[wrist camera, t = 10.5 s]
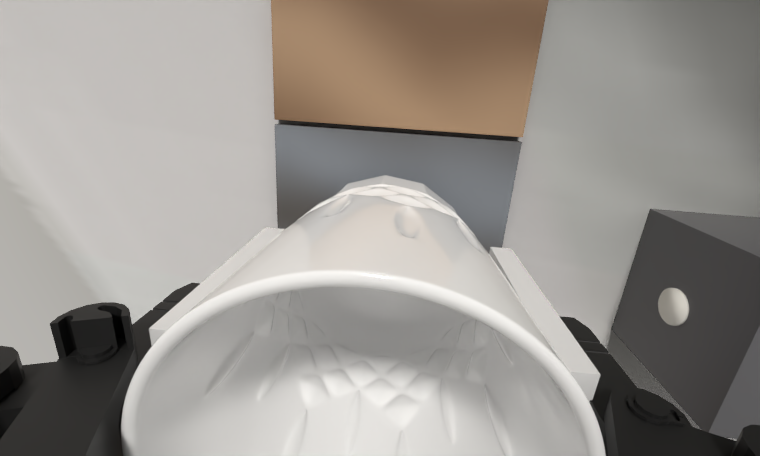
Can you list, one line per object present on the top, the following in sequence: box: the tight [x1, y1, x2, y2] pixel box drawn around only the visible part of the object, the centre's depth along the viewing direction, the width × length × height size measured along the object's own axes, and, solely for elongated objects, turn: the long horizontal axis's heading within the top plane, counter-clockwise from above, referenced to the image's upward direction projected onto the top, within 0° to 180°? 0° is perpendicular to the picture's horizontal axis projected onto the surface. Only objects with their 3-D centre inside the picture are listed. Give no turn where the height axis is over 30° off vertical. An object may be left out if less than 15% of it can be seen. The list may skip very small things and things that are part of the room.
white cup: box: [121, 175, 606, 456], centre depth 11 cm, size 8×8×10 cm
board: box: [271, 0, 548, 253], centre depth 17 cm, size 30×10×1 cm, turn 176°
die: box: [612, 209, 760, 439], centre depth 14 cm, size 6×6×6 cm
